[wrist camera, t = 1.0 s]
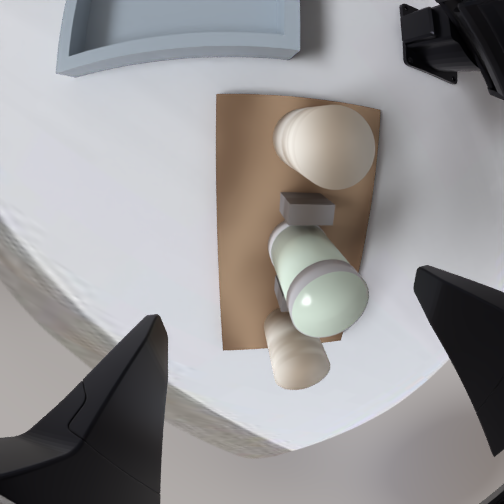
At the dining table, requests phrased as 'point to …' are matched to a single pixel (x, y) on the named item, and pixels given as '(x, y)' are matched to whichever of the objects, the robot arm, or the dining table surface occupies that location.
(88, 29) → the tray
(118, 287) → the dining table surface
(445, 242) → the dining table surface
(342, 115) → the fuse rack
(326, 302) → the cylinder
